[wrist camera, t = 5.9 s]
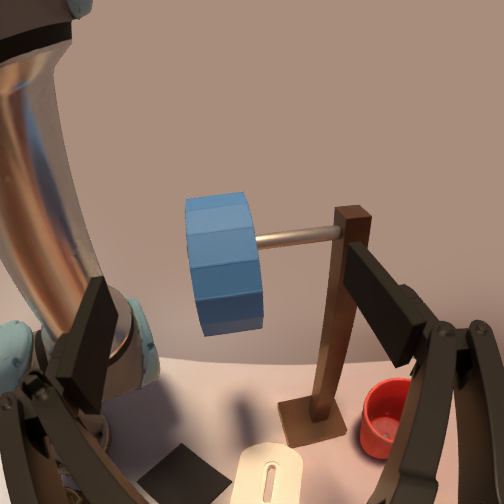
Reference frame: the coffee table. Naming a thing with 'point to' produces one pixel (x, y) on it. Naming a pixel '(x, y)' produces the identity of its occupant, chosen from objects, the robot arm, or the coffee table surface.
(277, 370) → the coffee table surface
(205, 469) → the mat
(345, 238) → the peg stand
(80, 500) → the mate gourd
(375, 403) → the flower pot
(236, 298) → the tape roll
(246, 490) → the bracket
